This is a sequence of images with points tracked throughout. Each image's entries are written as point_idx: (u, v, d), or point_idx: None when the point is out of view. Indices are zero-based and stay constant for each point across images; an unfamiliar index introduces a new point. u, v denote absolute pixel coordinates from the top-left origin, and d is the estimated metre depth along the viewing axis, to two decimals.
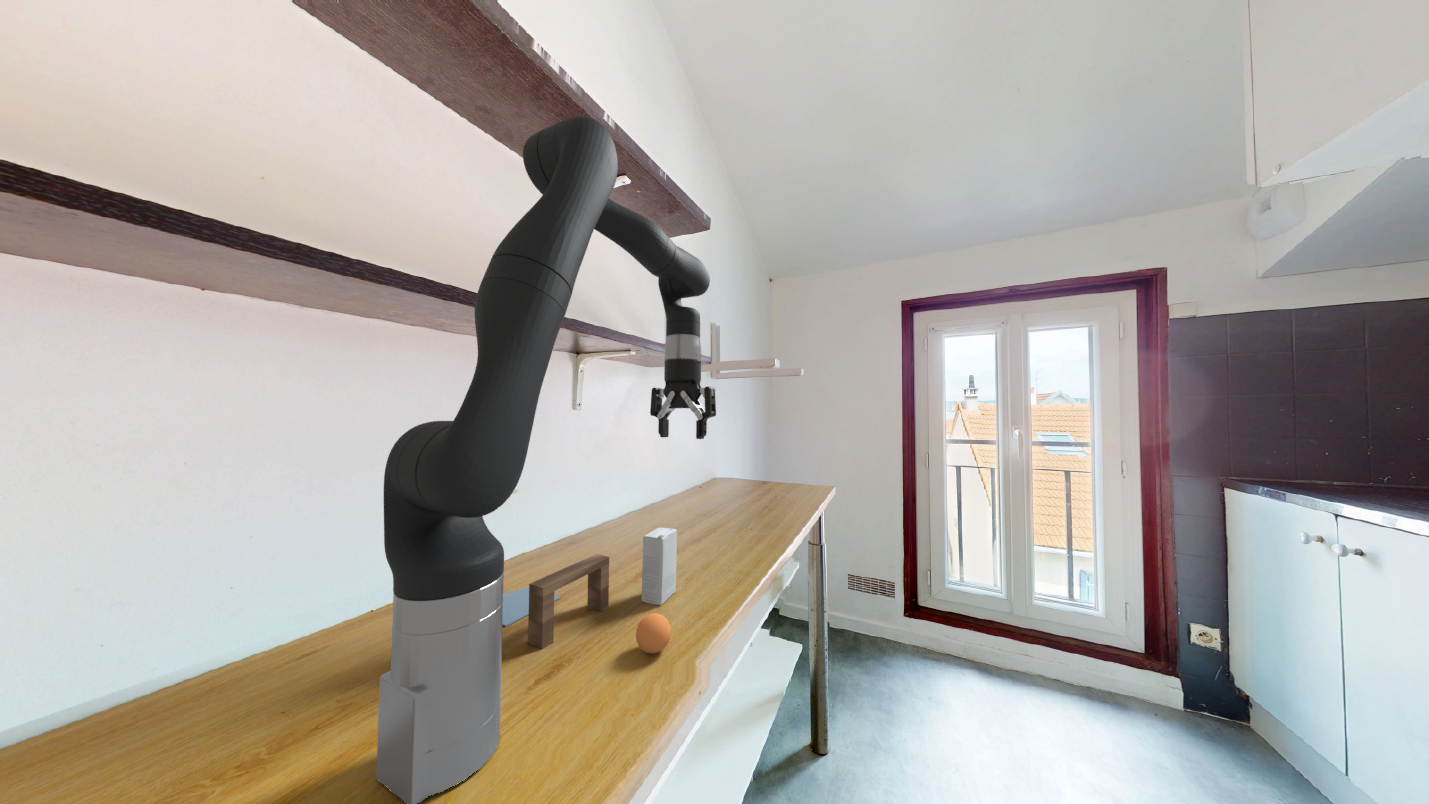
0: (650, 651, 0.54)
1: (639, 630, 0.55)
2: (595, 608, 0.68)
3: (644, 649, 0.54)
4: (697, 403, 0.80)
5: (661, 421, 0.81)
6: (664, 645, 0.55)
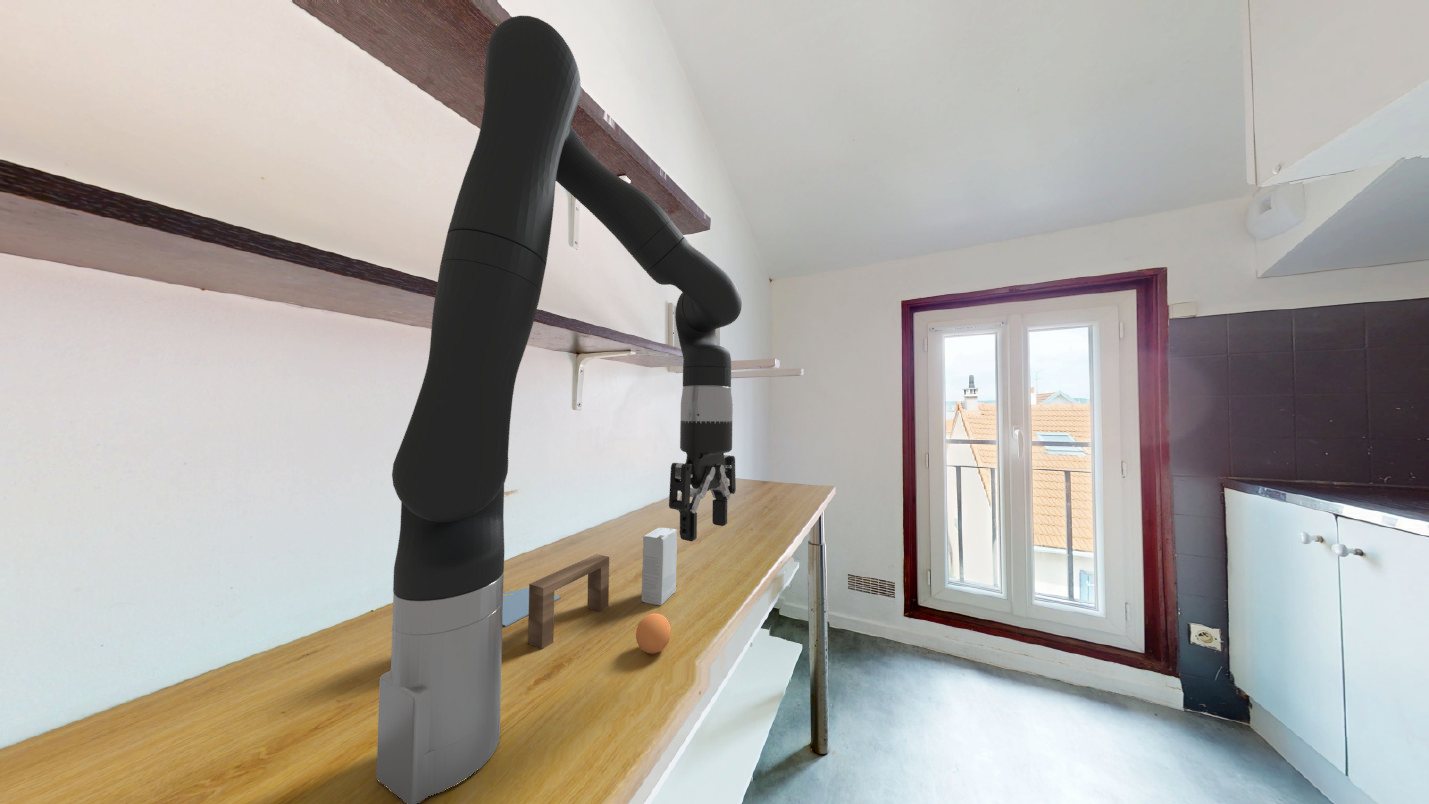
0: (650, 651, 0.54)
1: (639, 630, 0.55)
2: (595, 608, 0.68)
3: (644, 649, 0.54)
4: None
5: (695, 516, 0.52)
6: (664, 645, 0.55)
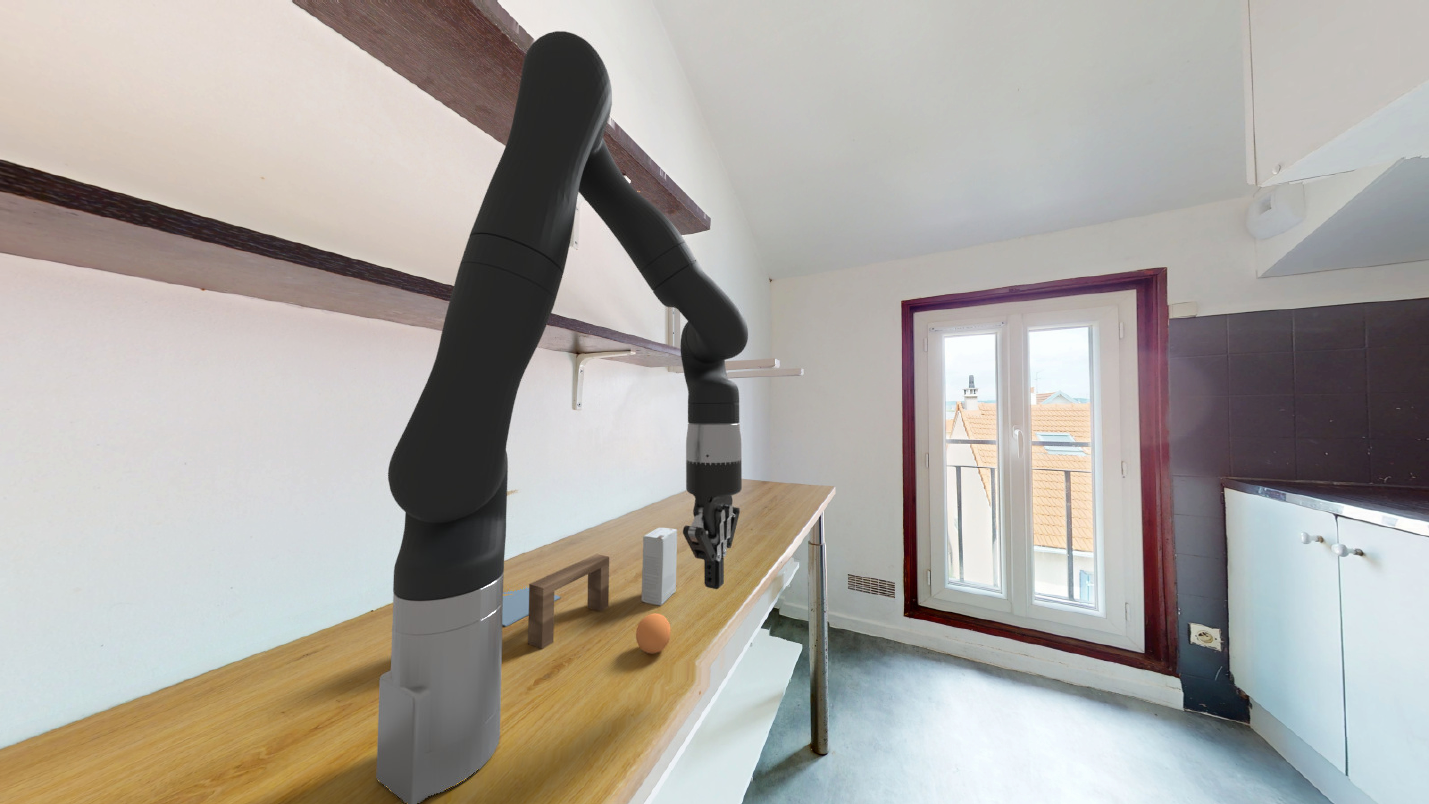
0: (650, 651, 0.54)
1: (639, 630, 0.55)
2: (595, 608, 0.68)
3: (644, 649, 0.54)
4: None
5: (719, 563, 0.52)
6: (664, 645, 0.55)
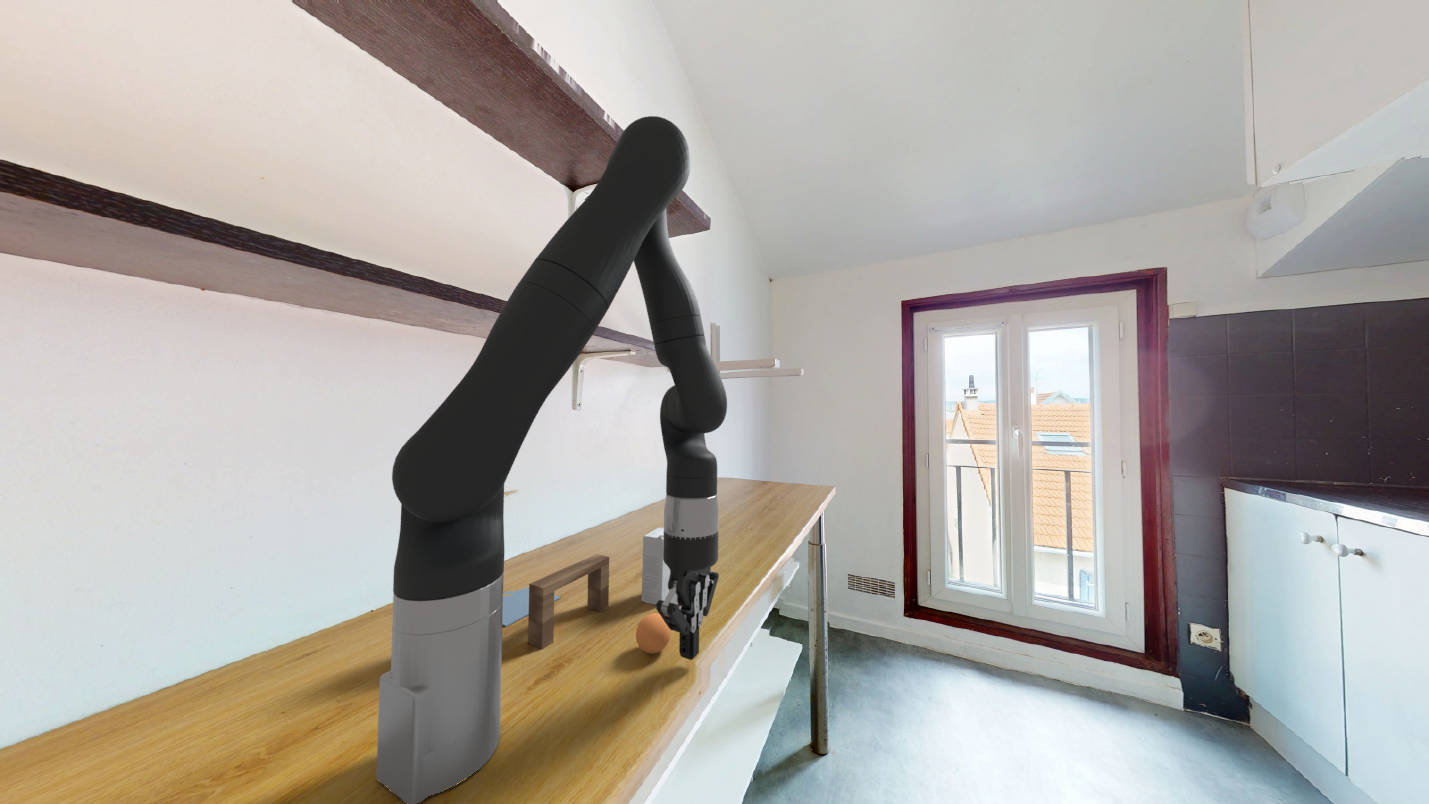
0: (650, 651, 0.54)
1: (639, 630, 0.55)
2: (595, 608, 0.68)
3: (644, 649, 0.54)
4: None
5: (694, 634, 0.52)
6: (664, 645, 0.55)
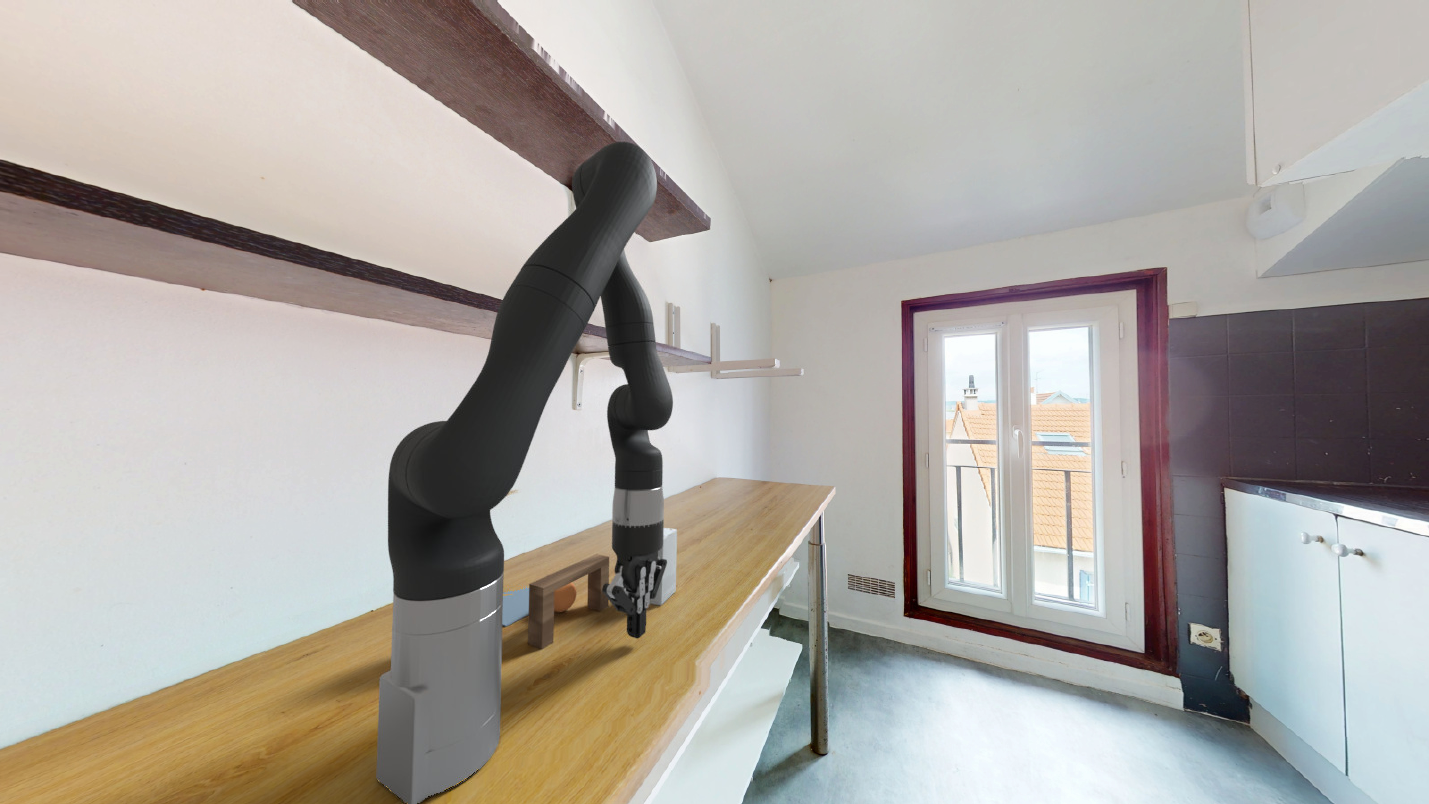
0: (556, 593, 0.66)
1: None
2: (595, 608, 0.68)
3: (554, 599, 0.65)
4: None
5: (641, 615, 0.57)
6: None
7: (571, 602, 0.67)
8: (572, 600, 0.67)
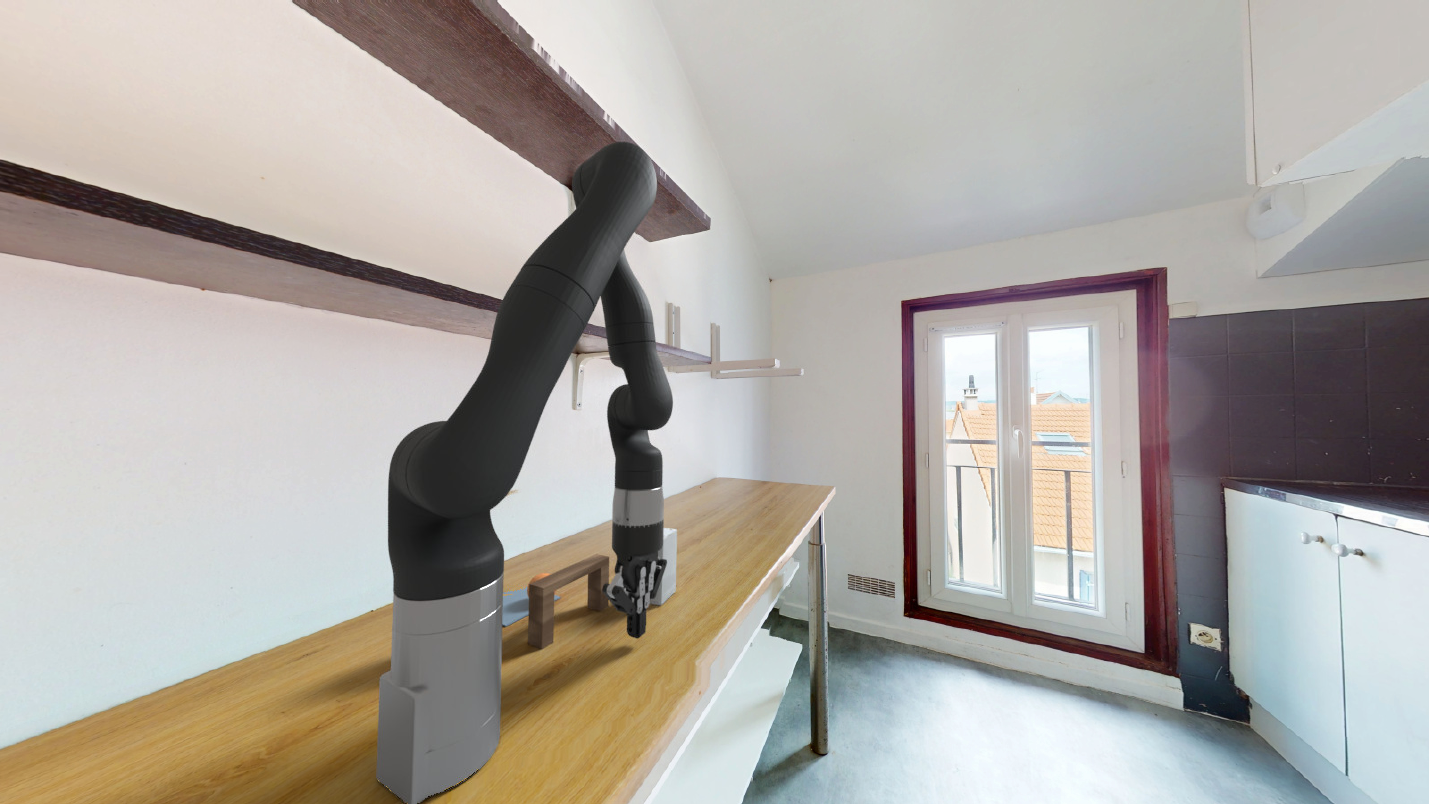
0: None
1: None
2: (595, 608, 0.68)
3: (527, 587, 0.69)
4: None
5: (641, 615, 0.57)
6: None
7: (541, 573, 0.71)
8: None
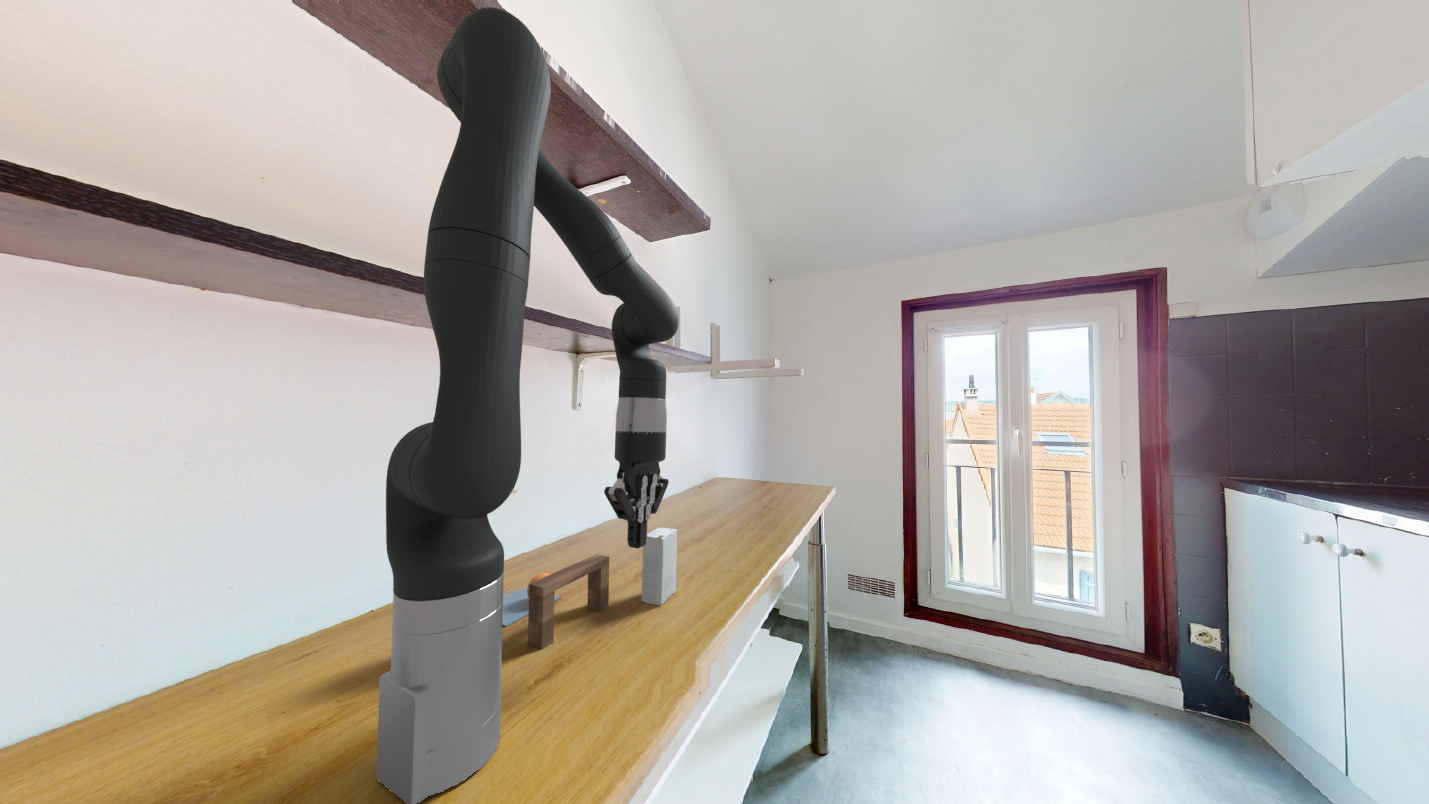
0: None
1: None
2: (595, 608, 0.68)
3: (527, 587, 0.69)
4: None
5: (641, 525, 0.57)
6: None
7: (541, 573, 0.71)
8: None
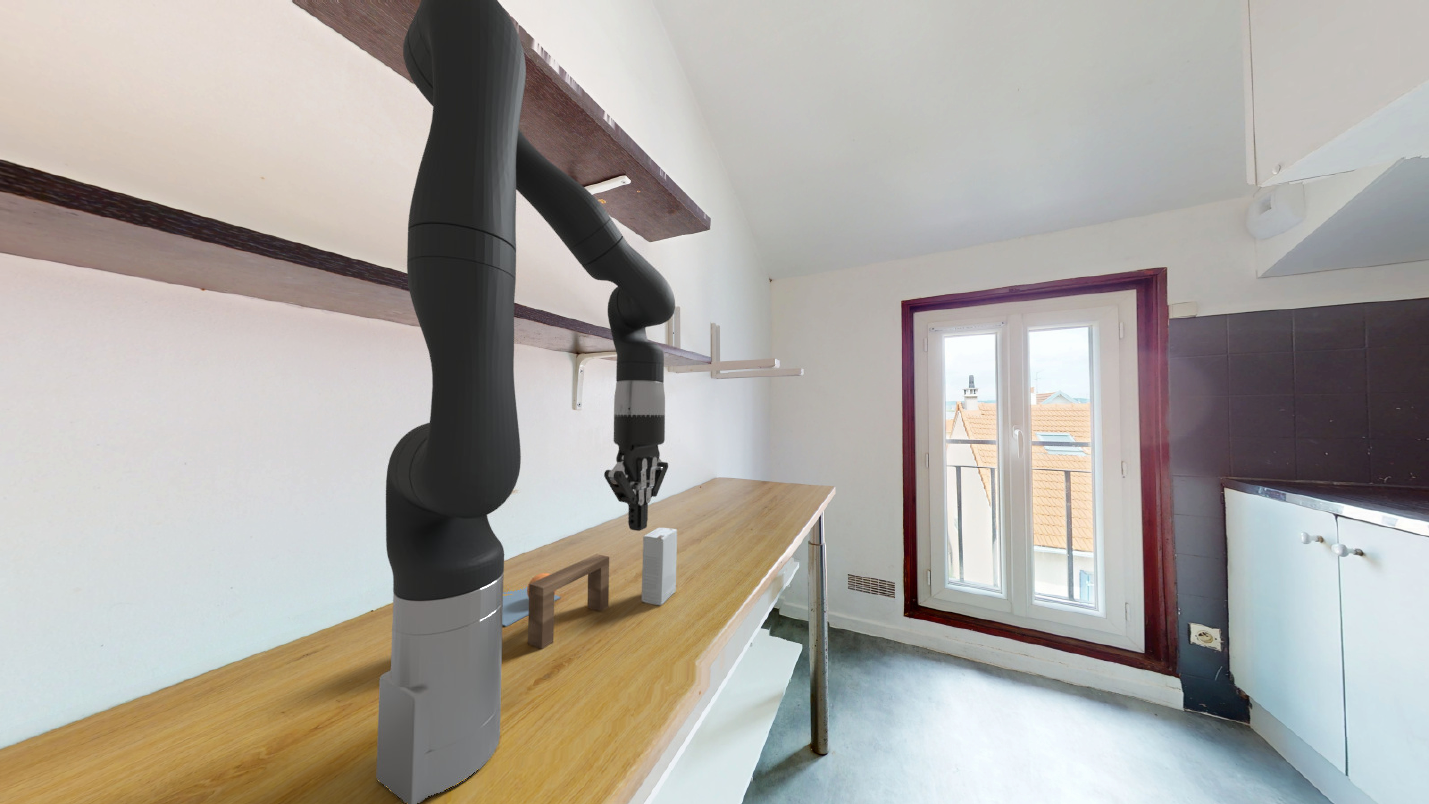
0: None
1: None
2: (595, 608, 0.68)
3: (527, 587, 0.69)
4: None
5: (642, 508, 0.57)
6: None
7: (541, 573, 0.71)
8: None
